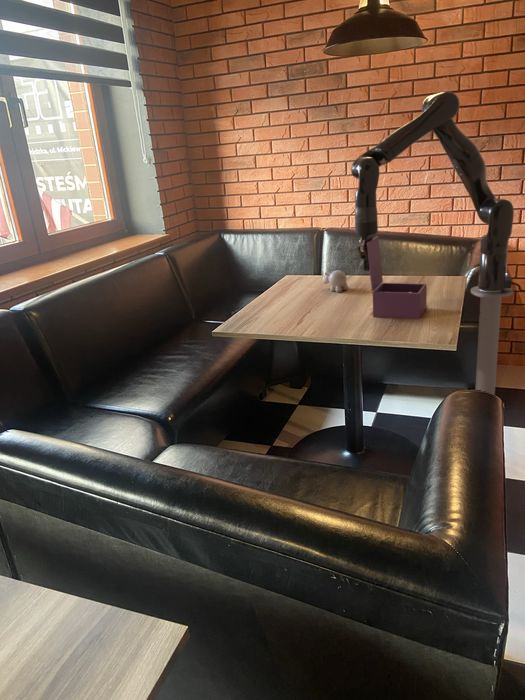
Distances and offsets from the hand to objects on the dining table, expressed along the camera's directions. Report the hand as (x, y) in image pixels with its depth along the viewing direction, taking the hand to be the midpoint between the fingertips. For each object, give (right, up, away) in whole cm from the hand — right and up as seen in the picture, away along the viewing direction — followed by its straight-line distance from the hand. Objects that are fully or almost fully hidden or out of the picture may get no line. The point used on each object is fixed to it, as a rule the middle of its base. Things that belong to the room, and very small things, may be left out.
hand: (367, 270), depth 187 cm
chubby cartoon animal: (-7, -3, +36) cm, 37 cm away
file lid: (+2, +2, -2) cm, 4 cm away
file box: (+11, -15, 0) cm, 19 cm away
